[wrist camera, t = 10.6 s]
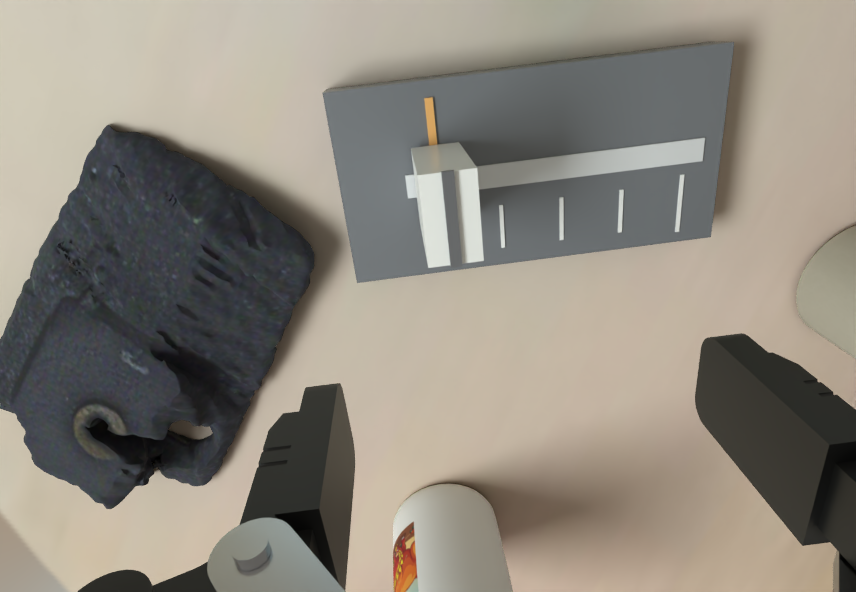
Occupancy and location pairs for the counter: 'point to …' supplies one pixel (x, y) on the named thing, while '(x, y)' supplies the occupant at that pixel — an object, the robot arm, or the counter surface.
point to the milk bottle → (448, 543)
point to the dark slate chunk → (147, 319)
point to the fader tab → (448, 204)
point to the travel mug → (831, 292)
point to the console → (539, 155)
